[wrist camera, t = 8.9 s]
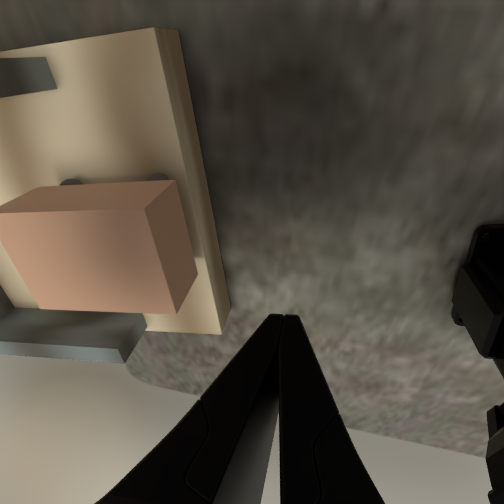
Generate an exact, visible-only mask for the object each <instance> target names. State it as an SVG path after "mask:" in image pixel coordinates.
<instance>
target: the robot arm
mask: <svg viewBox="0 0 504 504" xmlns="http://www.w3.org/2000/svg"><path fill="white" fill-rule="evenodd" d="M486 233H491V234H490V236H488V237H485V238H483V236H484V235H485V234H486ZM452 302H453V304H454V308H453V312H452V319H453V321H454V322H455V324H457V325H460V326H465V327H466V329H467V331H468V333H469V335H470V336H471V338H472V340H473V342H474V344H475V346H476V348H477V350H478V352H479V353H480V354H481V355H482V356H483V357H484V358H487V359H493V360H494V362H495V364H496V366H497V368H498V369H499V371H500V373H501V375H502V377H503V378H504V224H488V225H483V226H481V227H479V228H478V229H477V230H476V231H475V233H474V236H473V239H472V243H471V247H470V250H469V254H468V257H467V261H466V262H465V263H464V264H463V265H462V266H461V268H460V272H459V276H458V280H457V283H456V287H455V291H454V294H453V298H452ZM460 317H461V318H460ZM278 411H279V440H280V441H279V442H280V504H385V503H384V501H383V500H382V497H381V496H380V494H379V492H378V490H377V489H376V487H375V485H374V483H373V481H372V480H371V478H370V476H369V474H368V472H367V471H366V469H365V467H364V465H363V463H362V461H361V459H360V457H359V455H358V454H357V451H356V449H355V447H354V445H353V443H352V441H351V438H350V436H349V434H348V432H347V430H346V427H345V425H344V422H343V420H342V418H341V415H340V414H339V411H338V408H337V406H336V404H335V401H334V399H333V396H332V394H331V392H330V389H329V387H328V384H327V382H326V379H325V377H324V375H323V372H322V370H321V367H320V365H319V363H318V360H317V358H316V355H315V353H314V351H313V348H312V346H311V343H310V341H309V338H308V336H307V334H306V331H305V329H304V326H303V324H302V322H301V319H300V317H299V316H298V315H291V314H286V315H285V316H284V315H283V314H270V315H268V317H267V318H266V319H265V320H264V321H263V323H262V324H261V325H260V326H259V327H258V329H257V330H256V331H255V332H254V333H253V335H252V336H251V337H250V338H249V339H248V341H247V342H246V343H245V344H244V345H243V347H242V348H241V349H240V350H239V351H238V353H237V354H236V355H235V356H234V357H233V359H232V360H231V361H230V362H229V363H228V365H227V366H226V367H225V368H224V369H223V371H222V372H221V373H220V374H219V375H218V377H217V378H216V379H215V380H214V381H213V383H212V384H211V385H210V386H209V387H208V389H207V390H206V391H205V392H204V393H203V395H202V396H201V397H200V400H197V402H196V403H195V404H194V405H193V406H192V408H191V409H190V410H189V411H188V412H187V414H186V415H185V416H184V417H183V418H182V419H181V420H180V421H179V423H178V424H177V425H176V426H175V427H174V428H173V429H172V430H171V431H170V432H169V433H168V434H167V435H166V436H165V437H164V438H163V439H162V440H161V441H160V442H159V443H158V445H156V447H154V448H153V449H152V451H151V452H149V453H148V454H147V455H146V456H145V457H144V458H143V459H142V460H141V461H140V462H139V463H138V464H137V465H136V466H135V467H134V468H133V469H132V470H131V471H130V472H129V473H128V474H127V475H126V476H125V477H124V478H123V479H122V480H121V481H120V482H119V483H118V484H117V485H116V486H115V487H114V488H113V489H111V490H110V491H109V492H108V493H107V494H106V495H105V496H104V497H102V498H101V499H100V500H99V501H97V502H96V503H95V504H260V503H261V498H262V493H263V488H264V482H265V478H266V473H267V468H268V462H269V457H270V452H271V447H272V442H273V437H274V432H275V427H276V422H277V416H278ZM487 422H488V432H489V440H488V446H487V453H486V463H487V468H488V472H489V477H490V481H491V486H492V489H493V490H491V491H489V493H488V498H489V501H490V504H504V403H502V404H501V405H500V406H497V405H496V406H494V407H493V408H491V409H490V410H489V411H487Z"/></svg>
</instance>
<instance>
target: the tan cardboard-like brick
mask: <svg viewBox="0 0 504 504" xmlns="http://www.w3.org/2000/svg"><path fill="white" fill-rule="evenodd" d="M0 242H1V243H2V245H3V247H4V248H5V250H6V252H7V254H8V255H9V257H10V259H11V260H12V262H13V264H14V265H15V267H16V269H17V270H18V272H19V274H20V276H21V277H22V279H23V281H24V282H25V284H26V286H27V287H28V289H29V291H30V293H31V294H32V296H33V298H34V299H35V301H36V303H37V304H38V306H39V308H40V309H50V310H75V311H100V312H124V313H149V314H173V315H177V313H178V311H179V309H180V307H181V305H182V304H183V302H184V300H185V298H186V296H187V294H188V292H189V290H190V289H191V287H192V285H193V283H194V281H195V279H196V277H197V276H198V271H197V267H196V263H195V259H194V255H193V250H192V246H191V242H190V238H189V234H188V230H187V226H186V221H185V217H184V213H183V209H182V205H181V201H180V196H179V192H178V188H177V184H176V180H169V179H168V177H166V176H165V175H163V174H153V175H151V176H150V177H148V179H147V180H146V181H140V182H121V183H102V184H83V183H82V182H80V181H79V180H77V179H66V180H64V181H62V182H61V183H60V185H59V186H44V187H37V188H35V189H33V190H31V191H29V192H27V193H25V194H23V195H21V196H19V197H17V198H15V199H13V200H11V201H9V202H7V203H5V204H3V205H1V206H0Z"/></svg>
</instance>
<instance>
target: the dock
mask: <svg viewBox="0 0 504 504" xmlns="http://www.w3.org/2000/svg"><path fill="white" fill-rule="evenodd" d="M153 174H163V175H165V176H166V177H168V179H169V180H176V184H177V188H178V192H179V196H180V201H181V205H182V209H183V213H184V217H185V221H186V226H187V230H188V234H189V238H190V242H191V246H192V250H193V255H194V259H195V263H196V267H197V271H198V276H197V277H196V279H195V281H194V283H193V285H192V287H191V289H190V290H189V292H188V294H187V296H186V298H185V300H184V302H183V304H182V305H181V307H180V309H179V311H178V313H177V315H173V314H149V313H124V312H100V311H75V310H50V309H40V308H39V306H38V304H37V303H36V301H35V299H34V298H33V296H32V294H31V293H30V291H29V289H28V287H27V286H26V284H25V282H24V281H23V279H22V277H21V276H20V274H19V272H18V270H17V269H16V267H15V265H14V264H13V262H12V260H11V259H10V257H9V255H8V254H7V252H6V250H5V248H4V247H3V245H2V243H1V242H0V354H7V355H19V356H32V357H45V358H58V359H72V360H84V361H97V362H111V363H125V362H126V360H127V359H128V357H129V356H130V354H131V352H132V351H133V349H134V348H135V346H136V344H137V343H138V341H139V339H140V338H141V336H142V335H143V333H144V331H164V332H184V333H203V334H222V332H223V329H224V326H225V324H226V321H227V318H228V315H229V312H230V309H231V306H230V301H229V296H228V290H227V285H226V280H225V274H224V269H223V264H222V259H221V253H220V248H219V243H218V238H217V232H216V227H215V222H214V217H213V211H212V206H211V201H210V196H209V190H208V185H207V180H206V174H205V169H204V164H203V159H202V153H201V148H200V143H199V138H198V132H197V127H196V122H195V117H194V111H193V106H192V101H191V96H190V90H189V85H188V80H187V74H186V69H185V64H184V59H183V53H182V48H181V43H180V38H179V32H178V30H171V29H164V28H156V27H152V28H146V29H140V30H134V31H127V32H121V33H115V34H109V35H102V36H96V37H90V38H84V39H77V40H71V41H65V42H59V43H52V44H46V45H40V46H34V47H27V48H21V49H15V50H9V51H2V52H0V206H1V205H3V204H5V203H7V202H9V201H11V200H13V199H15V198H17V197H19V196H21V195H23V194H25V193H27V192H29V191H31V190H33V189H35V188H37V187H44V186H59V185H60V183H61V182H62V181H64V180H66V179H77V180H79V181H80V182H82V183H83V184H102V183H121V182H140V181H146V180H147V179H148V177H150V176H151V175H153Z"/></svg>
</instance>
